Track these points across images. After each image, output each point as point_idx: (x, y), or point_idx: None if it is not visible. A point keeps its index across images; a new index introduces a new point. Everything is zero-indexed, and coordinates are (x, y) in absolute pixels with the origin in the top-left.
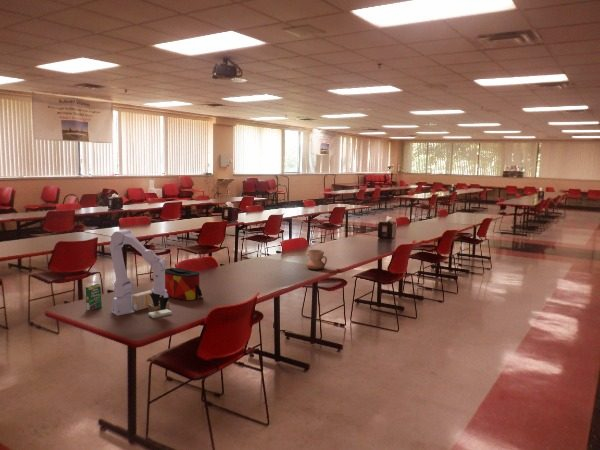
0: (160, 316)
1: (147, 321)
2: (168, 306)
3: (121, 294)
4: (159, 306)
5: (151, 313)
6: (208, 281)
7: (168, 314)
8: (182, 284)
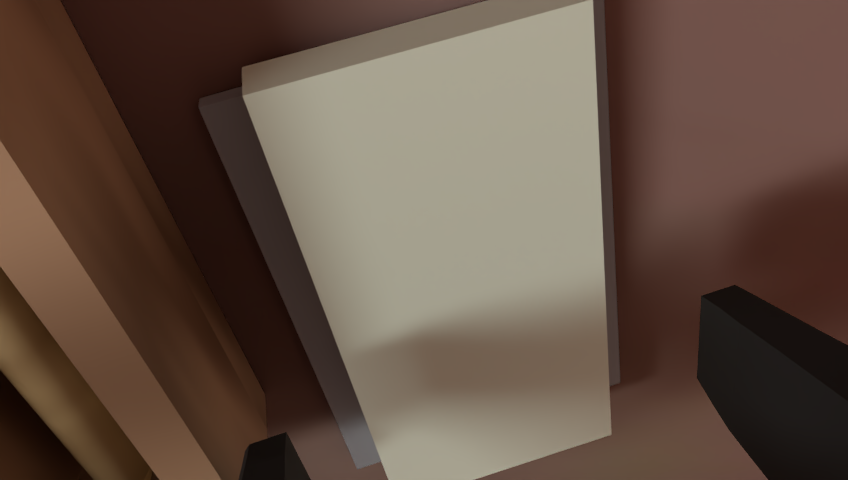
0: (610, 280)
1: (669, 452)
2: (8, 8)
3: None
4: (181, 365)
5: (472, 458)
6: None
7: None
8: None
